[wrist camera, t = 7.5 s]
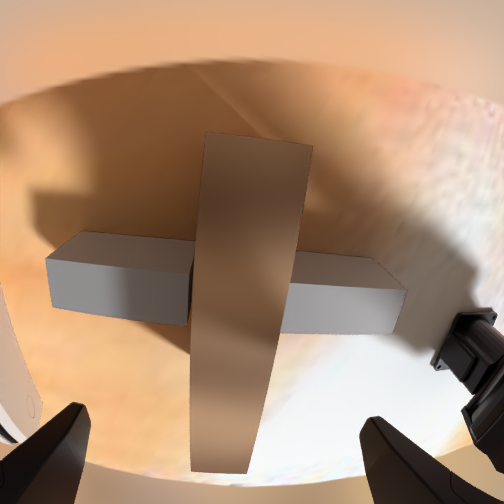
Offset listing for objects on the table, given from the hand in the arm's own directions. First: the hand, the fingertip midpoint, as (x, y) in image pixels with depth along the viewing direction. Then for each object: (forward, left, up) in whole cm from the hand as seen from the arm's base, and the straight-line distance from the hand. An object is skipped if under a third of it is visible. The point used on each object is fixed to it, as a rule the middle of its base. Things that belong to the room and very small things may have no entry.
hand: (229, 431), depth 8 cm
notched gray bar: (0, 0, -13) cm, 13 cm away
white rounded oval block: (+20, +10, -13) cm, 26 cm away
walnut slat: (0, 0, -13) cm, 13 cm away
